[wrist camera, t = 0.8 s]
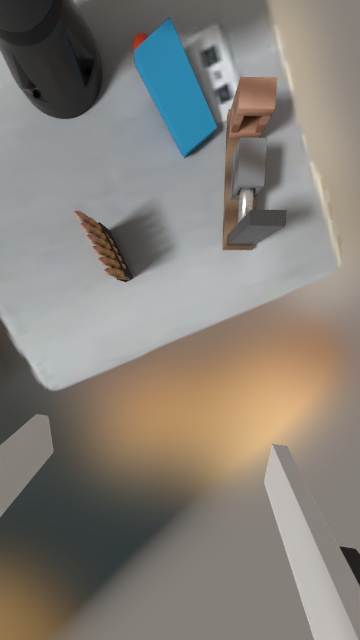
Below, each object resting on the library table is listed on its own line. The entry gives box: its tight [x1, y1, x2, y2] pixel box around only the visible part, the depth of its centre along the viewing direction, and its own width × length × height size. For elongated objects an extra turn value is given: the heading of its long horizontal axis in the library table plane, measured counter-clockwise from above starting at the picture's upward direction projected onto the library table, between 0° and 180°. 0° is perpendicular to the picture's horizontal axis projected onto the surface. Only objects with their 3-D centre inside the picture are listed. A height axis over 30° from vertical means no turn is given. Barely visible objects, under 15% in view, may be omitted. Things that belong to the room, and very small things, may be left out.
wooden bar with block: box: [222, 77, 277, 250], centre depth 33 cm, size 24×6×7 cm, turn 0°
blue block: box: [133, 18, 217, 158], centre depth 33 cm, size 7×7×18 cm
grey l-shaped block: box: [227, 188, 287, 246], centre depth 30 cm, size 16×5×12 cm, turn 0°
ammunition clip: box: [75, 211, 133, 282], centre depth 32 cm, size 11×2×12 cm, turn 25°
